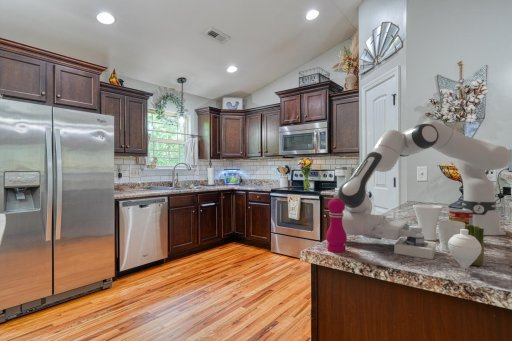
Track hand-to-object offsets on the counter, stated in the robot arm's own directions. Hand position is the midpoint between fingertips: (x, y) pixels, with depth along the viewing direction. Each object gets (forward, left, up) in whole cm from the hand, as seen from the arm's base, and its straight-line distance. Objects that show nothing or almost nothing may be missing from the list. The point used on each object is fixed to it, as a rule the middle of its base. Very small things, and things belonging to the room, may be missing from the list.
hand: (418, 231), depth 99 cm
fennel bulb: (+4, +15, -7) cm, 17 cm away
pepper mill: (+14, -24, -7) cm, 29 cm away
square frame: (0, -1, -7) cm, 7 cm away
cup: (-24, 0, -7) cm, 25 cm away
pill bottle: (0, -1, -7) cm, 8 cm away
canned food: (-29, +11, -7) cm, 32 cm away
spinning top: (+13, +13, -7) cm, 20 cm away
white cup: (-10, +9, -7) cm, 15 cm away
